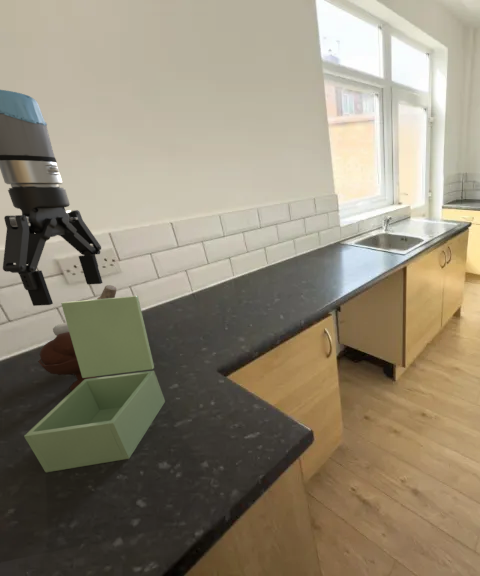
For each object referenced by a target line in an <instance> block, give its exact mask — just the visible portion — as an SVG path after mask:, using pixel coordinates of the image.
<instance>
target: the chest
mask: <svg viewBox="0 0 480 576" xmlns="http://www.w3.org/2000/svg"><path fill="white" fill-rule="evenodd" d="M165 403H166V400H165V397H164V394H163V392H162V389H161V386H160V383H159V381H158V377H157V374H156V371H155V370H145V371H137V372H130V373H122V374H114V375H106V376H98V377H97V378H91V379H85V380H83V381H82V382H81V383H80V384H79V385H78V386H77V387H76V388H75V389H74V390H73V391H72V390H71V391H70V393H68V395H67V394H66V395H65V397H64V398H63V399H62V400H60V402H58V404H57V405H55V407H53V408H52V409H51V410H50V411H49V412H48V413H47V414H46V415H44V417H43V418H41V420H39V421H38V422H37V423H36V424H35V425H34V426H33V427H32V428H31V429H30V430H29V431H28V432H27V433H25V434H24V436H23V437H24V439H25V441H26V442H27V444H28V445H29V447H30V449H31V451H32V452H33V454H34V455H35V457H36V459H37V461H38V463H39V464H40V466H41V467H42V469H43V470H44V472H45V473H52V472H56V471H63V470H68V469H76V468H80V467H87V466H92V465H98V464H99V465H100V464H104V463H111V462H116V461H117V462H118V461H123V460H129V459H130V458H131V457H132V455H133V453H134V452H135V450H136V449H137V447H138V446H139V444H140V442H141V441H142V440H143V438H144V436H145V435H146V433H147V431H148V430H149V428H150V427H151V426H152V423H153V422H154V420H155V419H156V418H157V416H158V414H159V412H160V411H161V409H162V408H163V406H164V404H165Z"/></svg>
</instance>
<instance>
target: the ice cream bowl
mask: <svg viewBox="0 0 480 576" xmlns="http://www.w3.org/2000/svg"><path fill="white" fill-rule="evenodd" d="M39 358H40V359H38V361H37V362H38V364H39V365H41V367H42V368H43V369H44V370H45V371H46V372H48V373H49V374H52V375H57V376H69V375H74V376H75V378H76V380H75V381H74V382H72V384H71V385H70V386H69V389H70V390H71V392H72V391H73V390H74V389H75V388H76V387H77V386H78V385H79V384H80V383H81V382H82V381H83V380H85V379H91V378H98V376H95V377H87V378H82V375H81V371H80V368H79V364H78V361H77V357H76V354H75V350H74V347H73V343H72V340H71V336H70V332H65V333H61V334H59V335H57V336H56V335H55V337H54V339H52V340H50V341H48V342H46V344H44V346H42V348H41V349H40V352H39Z"/></svg>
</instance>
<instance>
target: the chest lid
mask: <svg viewBox="0 0 480 576" xmlns="http://www.w3.org/2000/svg"><path fill="white" fill-rule="evenodd" d="M61 307H62V311H63V315H64V318H65V323H66V322H67V325H68V329H69V332H70V336H71V340H72V343H73V347H74V350H75V354H76V357H77V361H78V364H79V368H80V371H81V375H82V378H87V377H95V376H96V377H104V376H112V375H120V374H128V373H136V372H144V371H152V370H154V369H155V364H154V360H153V355H152V351H151V347H150V342H149V338H148V334H147V329H146V326H145V321H144V316H143V311H142V308H141V303H140V299H139V295H130V296H120V297H115V298H106V299H97V298H96V299H95V298H94V299H87V300H75V301H74V300H73V301H64V302H61Z"/></svg>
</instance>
